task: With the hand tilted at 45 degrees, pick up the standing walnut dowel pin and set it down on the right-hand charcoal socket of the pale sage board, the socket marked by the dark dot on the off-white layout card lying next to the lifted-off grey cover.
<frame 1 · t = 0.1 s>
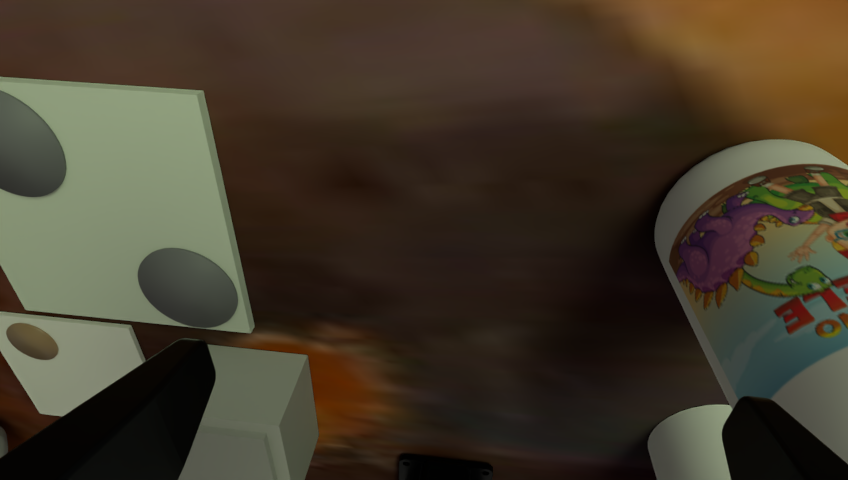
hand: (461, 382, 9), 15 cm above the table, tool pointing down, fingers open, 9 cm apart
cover: (254, 391, 33), on the table
board: (103, 215, 26), on the table
cylindrical container: (707, 439, 31), on the table
layout card: (83, 371, 34), on the table
milk bottle: (740, 213, 22), on the table
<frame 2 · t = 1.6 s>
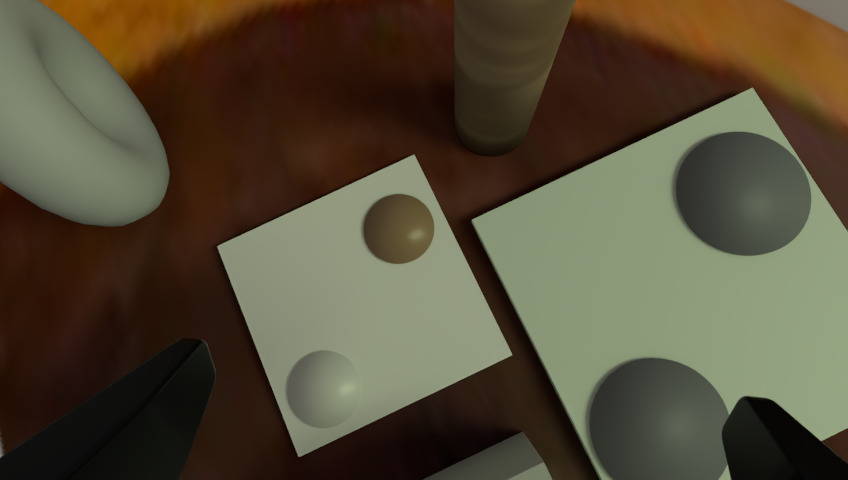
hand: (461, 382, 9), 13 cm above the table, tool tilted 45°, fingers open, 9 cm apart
board: (688, 296, 22), on the table
layout card: (360, 299, 22), on the table
pin: (491, 121, 24), on the table
donut: (142, 156, 24), on the table
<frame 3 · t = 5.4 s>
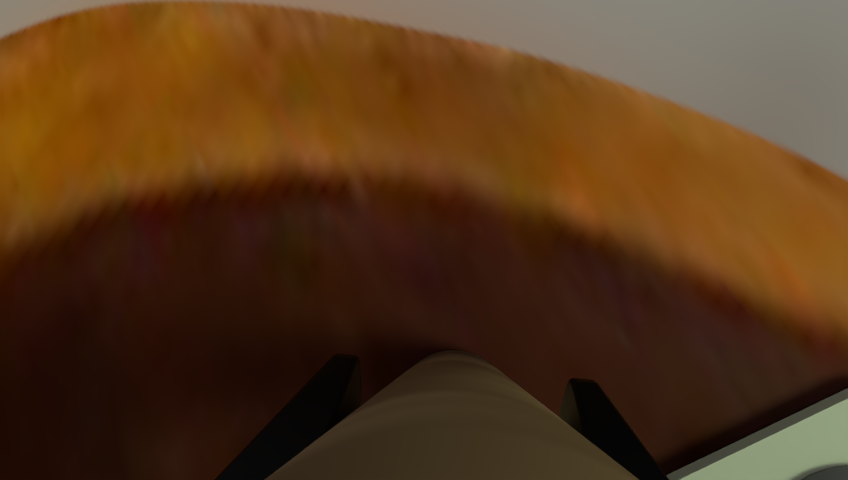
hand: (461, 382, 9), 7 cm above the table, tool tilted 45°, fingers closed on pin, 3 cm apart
pin: (453, 410, 15), on the table, touching gripper
when the fingers open (8 cm above the table, at t = 9.7 s): pin stays where it is, resting on board.
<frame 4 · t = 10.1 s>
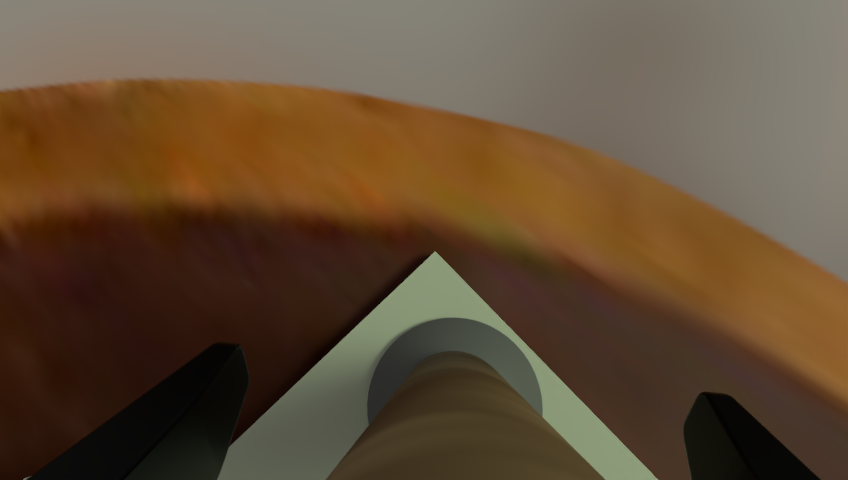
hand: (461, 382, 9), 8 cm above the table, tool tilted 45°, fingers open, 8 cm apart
pin: (454, 408, 16), point 1 cm above the table, touching board
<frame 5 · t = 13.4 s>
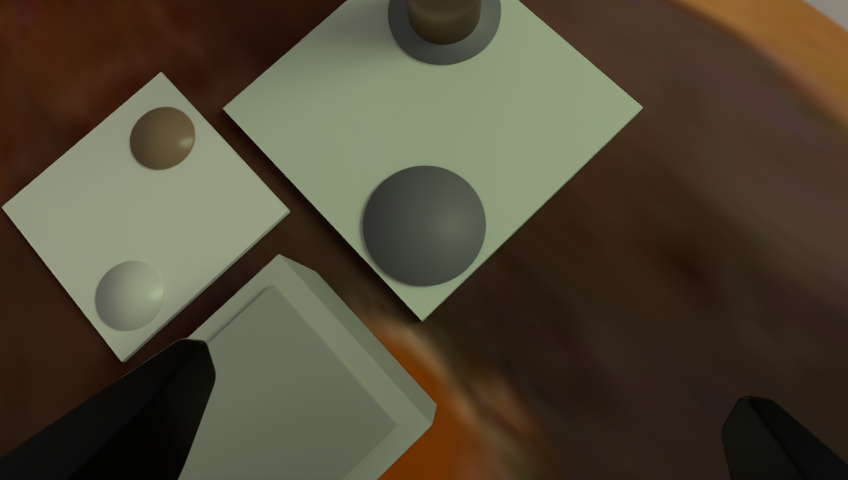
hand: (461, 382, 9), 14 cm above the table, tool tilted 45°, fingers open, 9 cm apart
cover: (307, 400, 22), on the table
board: (427, 113, 24), on the table
layout card: (146, 210, 24), on the table
pin: (444, 11, 24), point 1 cm above the table, touching board
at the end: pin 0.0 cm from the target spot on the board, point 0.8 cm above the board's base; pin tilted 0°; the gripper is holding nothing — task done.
